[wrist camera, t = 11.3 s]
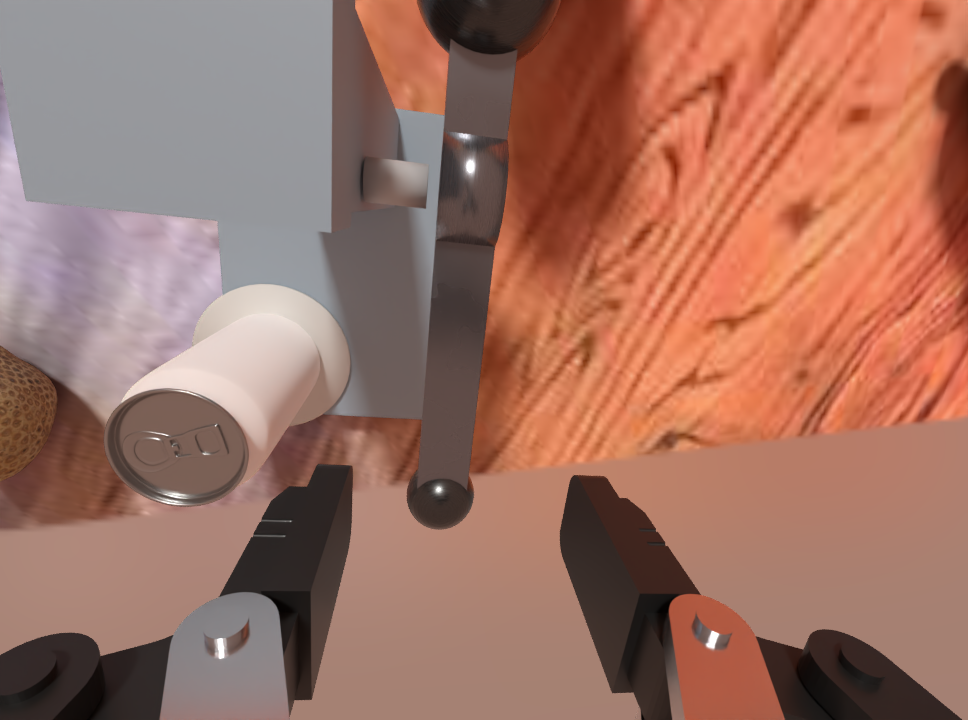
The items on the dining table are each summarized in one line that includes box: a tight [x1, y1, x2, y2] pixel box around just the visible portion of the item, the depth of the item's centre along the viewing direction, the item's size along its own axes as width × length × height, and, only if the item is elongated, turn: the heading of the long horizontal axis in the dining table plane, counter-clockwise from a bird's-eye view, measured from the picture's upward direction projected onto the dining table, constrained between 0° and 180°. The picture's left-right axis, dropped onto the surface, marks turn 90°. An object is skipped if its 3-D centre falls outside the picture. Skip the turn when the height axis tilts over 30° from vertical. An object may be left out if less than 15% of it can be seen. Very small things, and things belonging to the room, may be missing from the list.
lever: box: [407, 0, 561, 529], centre depth 16 cm, size 4×22×4 cm, turn 174°
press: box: [0, 0, 445, 426], centre depth 21 cm, size 18×21×22 cm
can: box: [104, 314, 320, 507], centre depth 25 cm, size 6×6×12 cm
